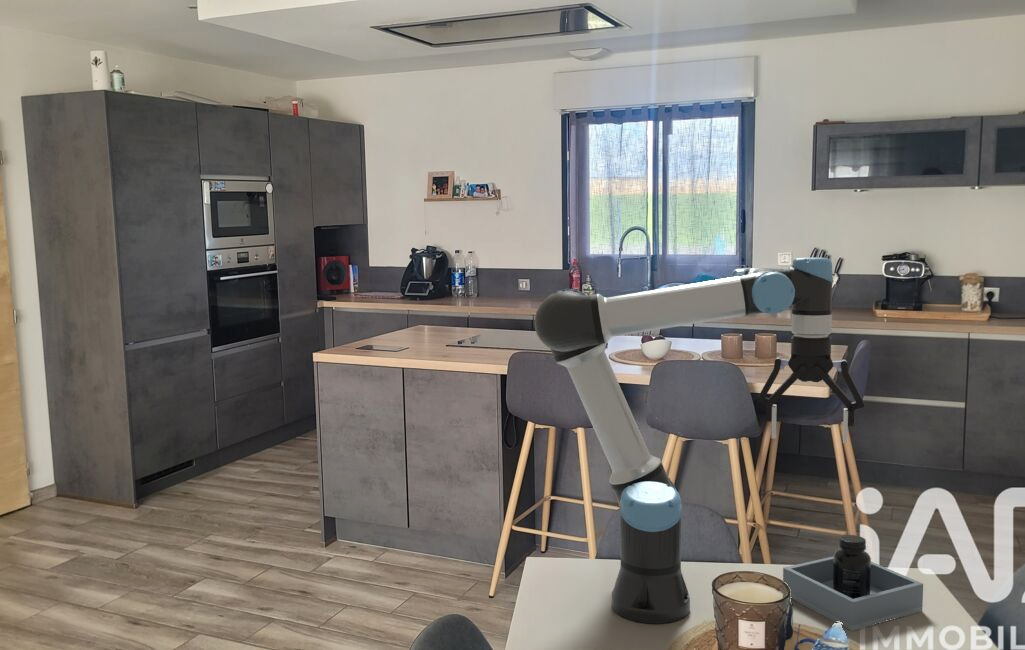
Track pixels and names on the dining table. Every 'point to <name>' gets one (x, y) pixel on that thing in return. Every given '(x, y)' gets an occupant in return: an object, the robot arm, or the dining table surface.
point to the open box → (885, 601)
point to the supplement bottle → (852, 567)
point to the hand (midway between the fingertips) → (808, 439)
